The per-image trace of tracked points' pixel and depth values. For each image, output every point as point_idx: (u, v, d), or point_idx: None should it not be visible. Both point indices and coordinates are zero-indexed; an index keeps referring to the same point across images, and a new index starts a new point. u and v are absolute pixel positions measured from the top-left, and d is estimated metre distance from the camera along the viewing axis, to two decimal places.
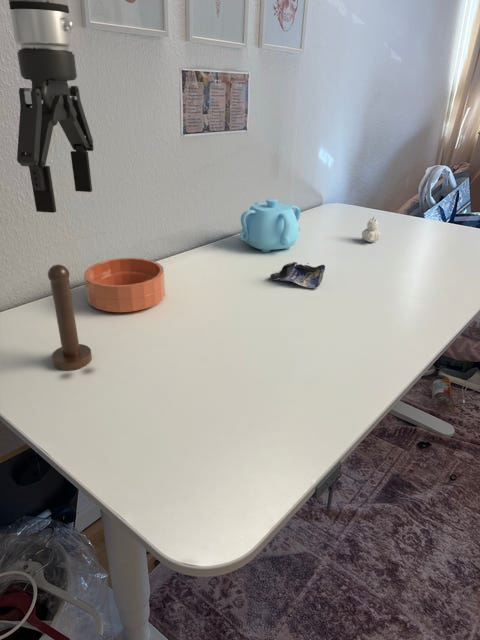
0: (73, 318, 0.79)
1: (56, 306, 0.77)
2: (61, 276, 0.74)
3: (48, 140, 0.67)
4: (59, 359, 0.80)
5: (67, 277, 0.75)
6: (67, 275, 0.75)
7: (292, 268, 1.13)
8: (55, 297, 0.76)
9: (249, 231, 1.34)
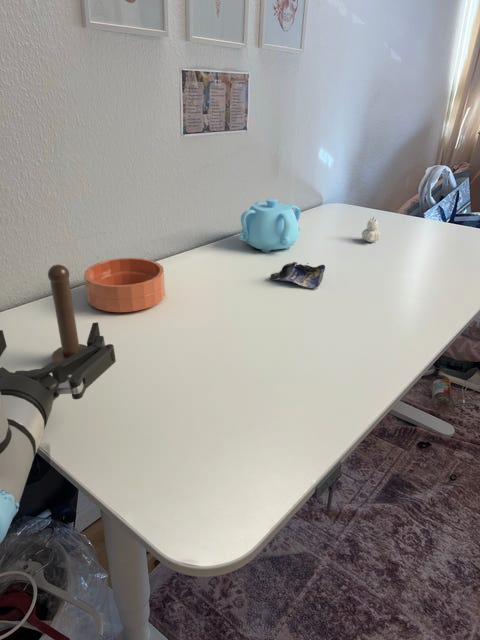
0: (73, 318, 0.79)
1: (56, 306, 0.77)
2: (61, 276, 0.74)
3: None
4: (59, 359, 0.80)
5: (67, 277, 0.75)
6: (67, 275, 0.75)
7: (292, 268, 1.13)
8: (55, 297, 0.76)
9: (249, 231, 1.34)
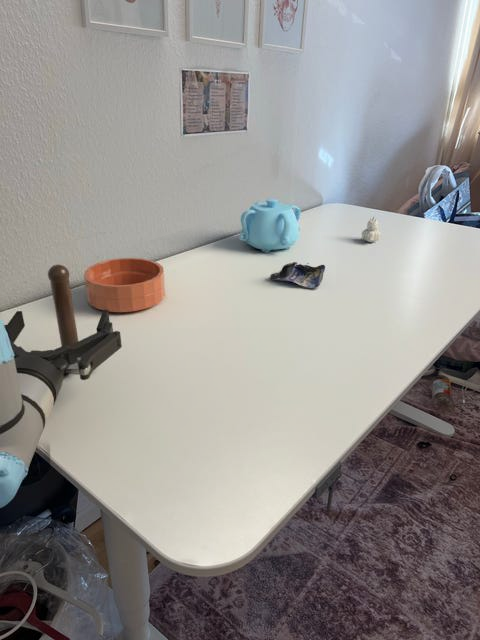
0: (73, 318, 0.79)
1: (56, 306, 0.77)
2: (61, 276, 0.74)
3: None
4: None
5: (67, 277, 0.75)
6: (67, 275, 0.75)
7: (292, 268, 1.13)
8: (55, 297, 0.76)
9: (249, 231, 1.34)
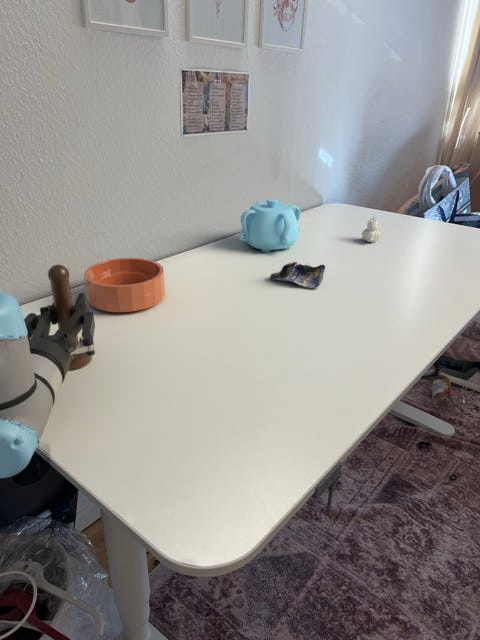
0: None
1: (56, 306, 0.77)
2: (61, 276, 0.74)
3: None
4: None
5: (67, 277, 0.75)
6: (67, 275, 0.75)
7: (292, 268, 1.13)
8: (55, 297, 0.76)
9: (249, 231, 1.34)
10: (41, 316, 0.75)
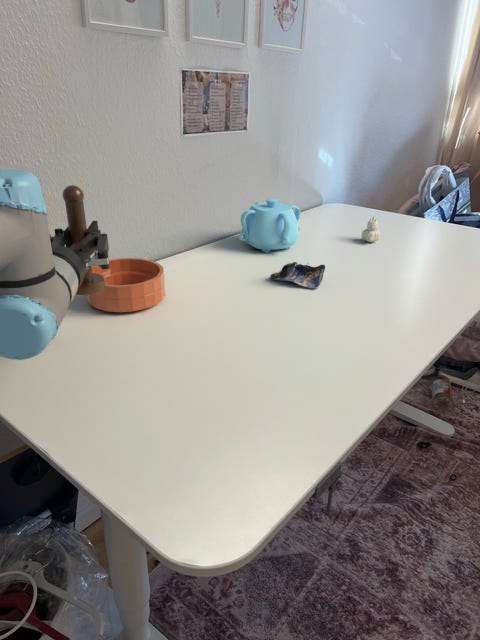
0: None
1: (70, 228, 0.78)
2: (76, 196, 0.75)
3: None
4: None
5: (81, 198, 0.76)
6: (81, 196, 0.76)
7: (292, 268, 1.13)
8: (70, 218, 0.77)
9: (249, 231, 1.34)
10: (56, 236, 0.76)
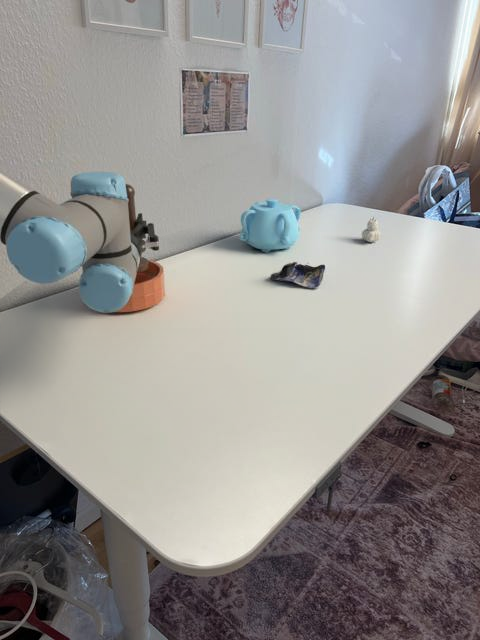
0: None
1: None
2: (129, 192, 0.94)
3: None
4: None
5: (133, 194, 0.95)
6: (133, 192, 0.94)
7: (292, 268, 1.13)
8: None
9: (249, 231, 1.34)
10: None
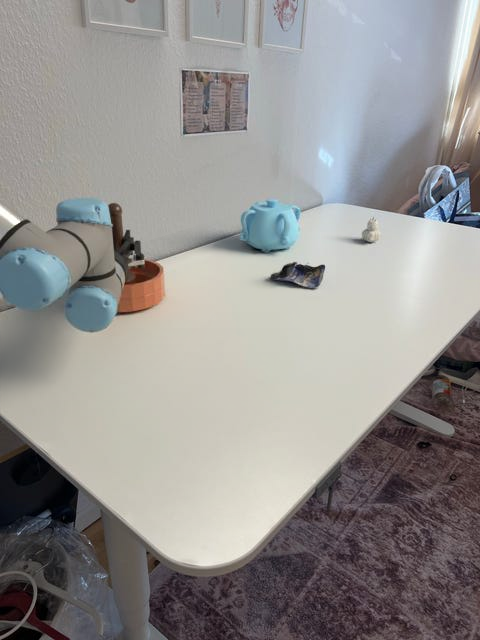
0: None
1: None
2: (117, 211, 0.97)
3: None
4: None
5: (121, 212, 0.98)
6: (121, 211, 0.97)
7: (292, 268, 1.13)
8: None
9: (249, 231, 1.34)
10: None
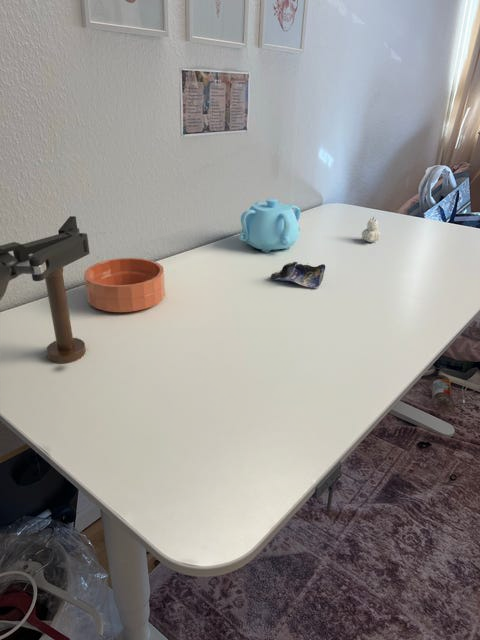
0: (67, 312, 0.81)
1: (50, 300, 0.79)
2: (55, 271, 0.76)
3: None
4: (53, 352, 0.82)
5: (61, 272, 0.77)
6: (61, 270, 0.77)
7: (293, 268, 1.13)
8: (49, 291, 0.78)
9: (249, 231, 1.34)
10: None
